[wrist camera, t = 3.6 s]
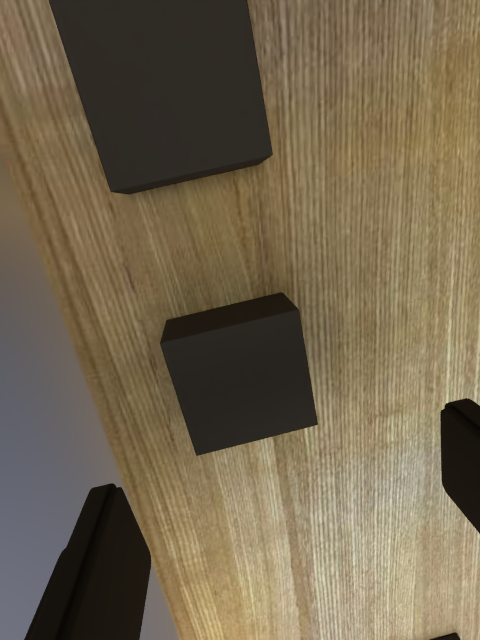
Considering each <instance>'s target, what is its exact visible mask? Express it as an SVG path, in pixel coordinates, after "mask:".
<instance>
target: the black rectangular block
mask: <svg viewBox="0 0 480 640" xmlns="http://www.w3.org/2000/svg"><path fill="white" fill-rule="evenodd" d="M49 3H50V6H51V9H52V12H53V15H54V18H55V21H56V24H57V28H58V31H59V34H60V37H61V40H62V43H63V46H64V49H65V52H66V55H67V58H68V61H69V65H70V68H71V71H72V74H73V77H74V80H75V83H76V86H77V89H78V92H79V95H80V98H81V102H82V105H83V108H84V111H85V114H86V117H87V120H88V123H89V126H90V129H91V132H92V135H93V139H94V142H95V145H96V148H97V151H98V154H99V157H100V160H101V163H102V166H103V169H104V172H105V176H106V179H107V182H108V185H109V188H110V191H111V192H116V193H123V194H132V193H136V192H141V191H145V190H150V189H154V188H158V187H163V186H167V185H171V184H176V183H180V182H185V181H189V180H193V179H198V178H202V177H206V176H211V175H215V174H220V173H224V172H228V171H233V170H237V169H242V168H246V167H250V166H255V165H259V164H260V163H262V162H263V161H265V160H266V159H267V158H269V157H270V156H272V155H273V153H272V147H271V141H270V135H269V129H268V123H267V117H266V111H265V105H264V99H263V93H262V87H261V81H260V75H259V69H258V63H257V57H256V51H255V45H254V39H253V33H252V27H251V21H250V15H249V9H248V3H247V0H49Z"/></svg>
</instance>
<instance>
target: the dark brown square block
mask: <svg viewBox="0 0 480 640" xmlns="http://www.w3.org/2000/svg"><path fill="white" fill-rule="evenodd" d="M160 345H161V348H162V351H163V354H164V357H165V361H166V364H167V367H168V370H169V373H170V376H171V379H172V382H173V385H174V388H175V391H176V394H177V398H178V401H179V404H180V407H181V410H182V413H183V416H184V419H185V422H186V425H187V428H188V431H189V435H190V438H191V441H192V444H193V447H194V450H195V453H196V455H197V456H198V455H202V454H206V453H210V452H213V451H217V450H221V449H225V448H229V447H233V446H237V445H241V444H245V443H249V442H252V441H256V440H260V439H264V438H268V437H272V436H276V435H280V434H284V433H288V432H291V431H295V430H299V429H303V428H307V427H311V426H315V425H318V422H317V416H316V410H315V404H314V398H313V392H312V386H311V380H310V374H309V368H308V362H307V356H306V350H305V344H304V338H303V332H302V326H301V320H300V314H299V310H298V308H297V307H296V306H295V305H294V304H293V303H292V302H291V301H290V300H289V299H288V298H287V297H286V296H285V295H284V293H278V294H274V295H269V296H265V297H261V298H257V299H253V300H249V301H245V302H241V303H236V304H232V305H228V306H224V307H220V308H216V309H212V310H207V311H203V312H199V313H195V314H191V315H187V316H183V317H179V318H174V319H170V320H167V321H166V324H165V328H164V331H163V335H162V338H161V342H160Z"/></svg>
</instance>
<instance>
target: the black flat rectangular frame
mask: <svg viewBox="0 0 480 640" xmlns="http://www.w3.org/2000/svg"><path fill="white" fill-rule="evenodd" d="M434 640H460V638H459V636H458V635H457V633H455V634H452V635H448V636H445V637H441V638H438V639H434Z"/></svg>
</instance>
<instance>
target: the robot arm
mask: <svg viewBox="0 0 480 640" xmlns="http://www.w3.org/2000/svg"><path fill="white" fill-rule="evenodd" d="M440 415H441V471H442V484H443V487H444V489H445V491H446V493H447V494H448V495H449V497H450V498H451V499H452V500H453V501H454V503H455V504H456V505H457V506H458V508H459V509H460V510H461V511H462V512H463V514H464V515H465V516H466V517H467V519H468V520H469V521H470V522H471V523H472V525H473V526H474V527H475V528H476V530H477V531H478V532H479V533H480V406H479V405H478V404H476V403H475V402H474V401H472V400H470V399H467V398H466V399H462V400H458V401H453V402H449V403H447V404H446V405H445V409H443V410H442V411H441V414H440ZM150 569H151V555H150V551H149V549H148V546H147V544H146V542H145V539H144V537H143V535H142V533H141V530H140V528H139V526H138V523H137V521H136V519H135V517H134V514H133V512H132V510H131V507H130V505H129V503H128V501H127V498H126V496H125V494H124V491H123V489H122V488H121V487H118V488H117V487H116V486H115V485H114V484H107V485H103V486H99V487H95V488H92V489H91V490H90V492H89V494H88V497H87V499H86V501H85V503H84V506H83V508H82V511H81V513H80V516H79V518H78V520H77V523H76V526H75V528H74V530H73V533H72V535H71V538H70V540H69V542H68V545H67V547H66V548H65V549H64V550H63V551H62V553H61V555H60V556H59V559H58V561H57V563H56V565H55V568H54V570H53V573H52V575H51V577H50V580H49V582H48V585H47V587H46V589H45V592H44V594H43V596H42V599H41V601H40V604H39V606H38V608H37V611H36V613H35V615H34V618H33V620H32V623H31V625H30V627H29V630H28V632H27V634H26V637H25V639H24V640H139V638H140V632H141V626H142V619H143V613H144V606H145V600H146V594H147V588H148V581H149V575H150Z"/></svg>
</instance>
